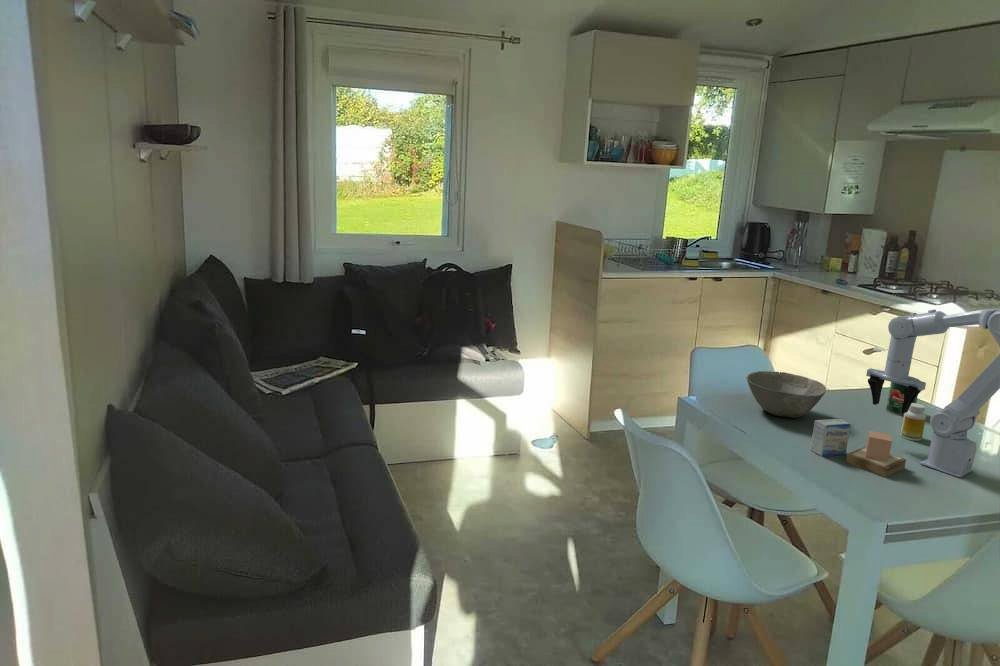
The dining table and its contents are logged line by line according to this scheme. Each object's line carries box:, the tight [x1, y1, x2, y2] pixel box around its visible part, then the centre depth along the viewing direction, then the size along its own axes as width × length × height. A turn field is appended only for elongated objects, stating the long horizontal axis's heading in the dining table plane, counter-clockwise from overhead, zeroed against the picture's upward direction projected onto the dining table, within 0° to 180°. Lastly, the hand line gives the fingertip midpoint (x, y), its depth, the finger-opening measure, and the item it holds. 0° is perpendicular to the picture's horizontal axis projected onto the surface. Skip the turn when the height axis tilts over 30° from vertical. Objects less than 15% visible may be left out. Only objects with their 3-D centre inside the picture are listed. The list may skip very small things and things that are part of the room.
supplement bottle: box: [899, 402, 927, 442], centre depth 200 cm, size 5×5×10 cm
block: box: [866, 430, 893, 462], centre depth 179 cm, size 5×5×6 cm
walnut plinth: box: [845, 445, 907, 478], centre depth 180 cm, size 10×10×2 cm
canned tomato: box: [885, 375, 921, 417], centre depth 220 cm, size 8×8×11 cm
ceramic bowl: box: [745, 370, 827, 419], centre depth 214 cm, size 22×23×10 cm
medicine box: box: [809, 418, 852, 457], centre depth 187 cm, size 8×4×9 cm, turn 106°
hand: (889, 408), depth 193 cm, fingers open, 7 cm apart
